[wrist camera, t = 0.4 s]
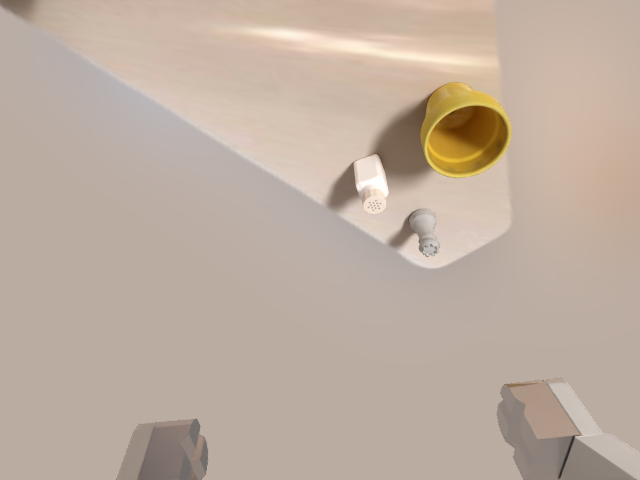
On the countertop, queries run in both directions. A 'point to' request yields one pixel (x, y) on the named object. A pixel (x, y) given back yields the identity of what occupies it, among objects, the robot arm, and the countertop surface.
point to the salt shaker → (371, 183)
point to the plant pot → (463, 131)
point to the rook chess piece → (425, 231)
